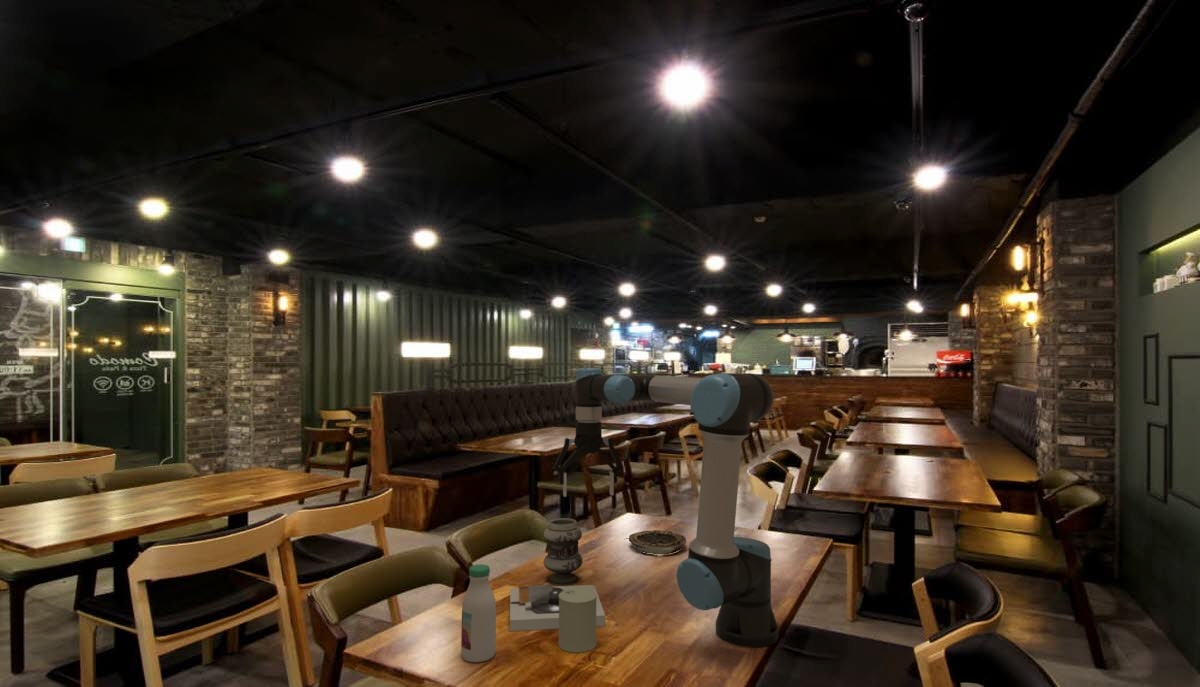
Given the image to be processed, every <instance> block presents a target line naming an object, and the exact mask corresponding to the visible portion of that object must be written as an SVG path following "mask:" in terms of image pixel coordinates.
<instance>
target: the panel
mask: <svg viewBox="0 0 1200 687" xmlns="http://www.w3.org/2000/svg"><path fill="white" fill-rule="evenodd" d="M552 588H561V589H562V590H563V591H564V590H568V589H574V588H583V589H589V590H592V591H594V592H595V593H596V594H597V599H596V628H597V627H599V628H600V627H606V614H605V611H604V608H603V605H602V602H601V600H600V597H599V594H598V591H597V589H596V585H594V584H584V585H582V584H581V585H563V586H561V585H552ZM509 591H510V592H509V596H510V597H509V598H510V599H509V632H521V631H538V630H559V613H549V614H538V613H536V612H534V611H533V610H532V609H531V602H529V603H519V587H518V588H517V587H515V588H513V587H511V588H510V589H509Z"/></svg>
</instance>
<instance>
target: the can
mask: <svg viewBox="0 0 1200 687" xmlns="http://www.w3.org/2000/svg"><path fill="white" fill-rule="evenodd" d="M597 594H598V593H597ZM597 594H596V593H595V592H594V591H592V590H589V589H583V588H574V589H568V590H564V591H562V592H561V593H560V594H559V629H558V642H557V646H558V647H559V649H560V650H563V651H565V652H569V653H576V654H577V653H578V654H579V653H586V652H589V651H592V650H594V649H595V648H596V647H597V644H598V642H597V627H596V599H597Z"/></svg>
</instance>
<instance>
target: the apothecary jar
mask: <svg viewBox="0 0 1200 687" xmlns="http://www.w3.org/2000/svg"><path fill="white" fill-rule="evenodd" d="M577 523H578V522H577V520H576V519H573V518H567V517H566V518H563V517H562V518H554V519H552V520H550V521H549V523H548V527H547V528H545V530H544V533H543V537H544V539H545V540H546V541H547V555H546V556H545V557H544V559H543V566H544V567H545V568H546V569H547V570H548V571H549V572H551V573H553V574H551V575H549V576H548V577H547V579H546V581H547V582H548V584H551V585H552V586H572V585H575V584H576V583H578V582H579V581H580V577H579V576H578V575H577V574H575V573H573V572H575V571H577V570H579V569H580V568H581V567H582V566H583V557H582V556H581V554H580V553H579V540H581V538H582V537H583V531H582V529H581V528H580V527H578V524H577Z"/></svg>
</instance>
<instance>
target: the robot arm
mask: <svg viewBox="0 0 1200 687" xmlns="http://www.w3.org/2000/svg"><path fill="white" fill-rule="evenodd" d="M574 383H575V420H576V422H575V437H574V438H569V437H564V443H563V446H562V449H561V450H560V452H559V455H558V456H557V458H556V460H555V463H554V465H553V466H552V469H553V471H554V472H558V474H559V476H558V477H559V478H558V479H559V480H558V481H559V484H560V485H562V495H563V497H564V498H565V497H567V472H566V470H567V469H568V468H569V467H570V466H571V465H572V463H573V462H574V461H575V459H576V458H578V456H579V455H580V454H583V455H587V454H590V455H594V454H596V453H598V455H600V457H601V459H602V460H603V461H604V462H605V463H606V464H607V465H608V467H609V468H610V469H611V470H609V495H610V496H614V494H615V493H614V492H615V491H614V486H615V485H614V484H617V483H618V472H619V471H623V470H624V468H625V466H624V464H623V463H622V461H621V459H620V457H619V455H618V453H617V450H616V449H615V447H614V443H613V442H614V441H613V438H612V437H610V436H609V437H607V438H603V436H602V434H603V433H602V430H603V429H602V428H603V427H602V424H603V423H602V422H601V420H602V417H603V416H602V415H603V414H602V413H603V412H602V408H603V406H602V405H603V404H602V402H605V403H613V404H625V403H628V402H629V403H630V402H653V403H657V402H658V403H664V404H676V405H683V406H689V407H690V411H691V413H692V414H693V418H694V419H695V421H697V423H698V425H697V427H698V428H697V430H698V431H699V433H700V434H701V435H702V436H703V449H702V461H701V474H700V483H699V484H700V486H699V496H698V497H699V498H698V510H697V512H698V513H697V522H696V533H695V534H696V536H695V538H693V539H692V540H691V541H690V542H689V543H688V551H687V552H688V553H687V558H685V559H683V561H682V562H681V563H679V565H678V566H677V569H676V581H677V582H676V583H677V586H678V589H679V592H680V593H681V594H682V595H683V598H684V599H685V601H686V602H687V603H688V604H689V605H691V606H692V607H693V608H696V609H697V610H700V611H709V610H712V609H713V610H714V609H718V610H719V611H718V613H717V617H716V620H715V634H716V636H717V637H718V638H719V639H720V640H723V641H724V642H727V643H729V644H731V645H735V646H739V647H746V648H763V647H764V648H765V647H768V646H772V645H773V644H775V643H777V642H778V640H779V626H778V622H777V620H776V616H775V614H774V610H773V608H772V607H773V606H772V603H771V602H772V600H771V599H772V594H771V593H772V583H771V582H772V557H771V556H772V555H771V548H770V546H769V545H768V544H767V543H766V542H764V541H761V540H758V539H753V538H748V537H742V536H735V530H736V529H735V528H736V527H735V526H736V518H737V517H736V515H737V505H738V504H737V502H738V493H739V492H738V490H739V480H740V467H741V455H742V442H743V441H744V440H745V439H746V438H747V437H749V435H750V428H751V423H753V422H754V423H755V422H757V421H759V420H761V419H763V418H765V417H766V416H767V415H768V414H769V413H770V412H771V409H772V408H773V405H774V399H775V398H774V397H775V396H774V391H773V389H772V386H771V385H770V383H769V382H768V381H767V380H766V379H765V378H764V377H762V376H761V375H759V374H757V373H756V374H755V373H726V372H725V373H723V372H722V373H720V372H719V373H716V374H715V373H714V374H709V375H706V376H704V377H692V376H691V377H687V376H673V375H672V376H671V375H670V376H669V375H657V374H649V373H647V374H614V375H613V374H610V375H607V374H603V371H602V369H601V368H600V367H579V368H578V369H576V375H575V382H574ZM573 444H574V446H576V448H575V450H574V451H573V452H572V453H571V454H570V456H569V457H568V458H567V459H566V460H565V462H564V463H563V464H562V462H563V460H564V458H565V456H566V454H567V452H568V450H569V447H571V446H572V445H573ZM603 444H605V445H606V446H607V447H608V449H609V451H610V453H611V455H612V457H613V459H614V461H615V464H616V466H615V464H614V463H613V462H612V461H611V460H610V459H609V458H608V456H607V455H606V454H605V453H604V451H603V450H602V449H601V447H602V445H603ZM561 464H562V465H561Z"/></svg>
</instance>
